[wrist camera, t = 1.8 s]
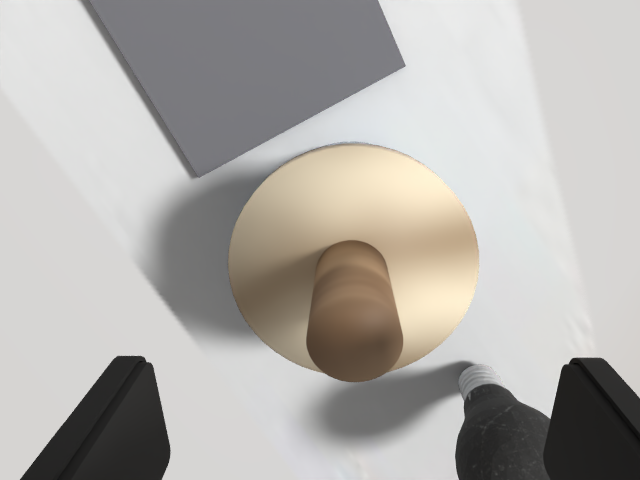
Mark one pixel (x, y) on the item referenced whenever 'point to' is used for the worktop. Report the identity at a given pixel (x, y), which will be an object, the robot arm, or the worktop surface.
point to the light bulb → (498, 431)
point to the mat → (247, 64)
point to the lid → (353, 261)
